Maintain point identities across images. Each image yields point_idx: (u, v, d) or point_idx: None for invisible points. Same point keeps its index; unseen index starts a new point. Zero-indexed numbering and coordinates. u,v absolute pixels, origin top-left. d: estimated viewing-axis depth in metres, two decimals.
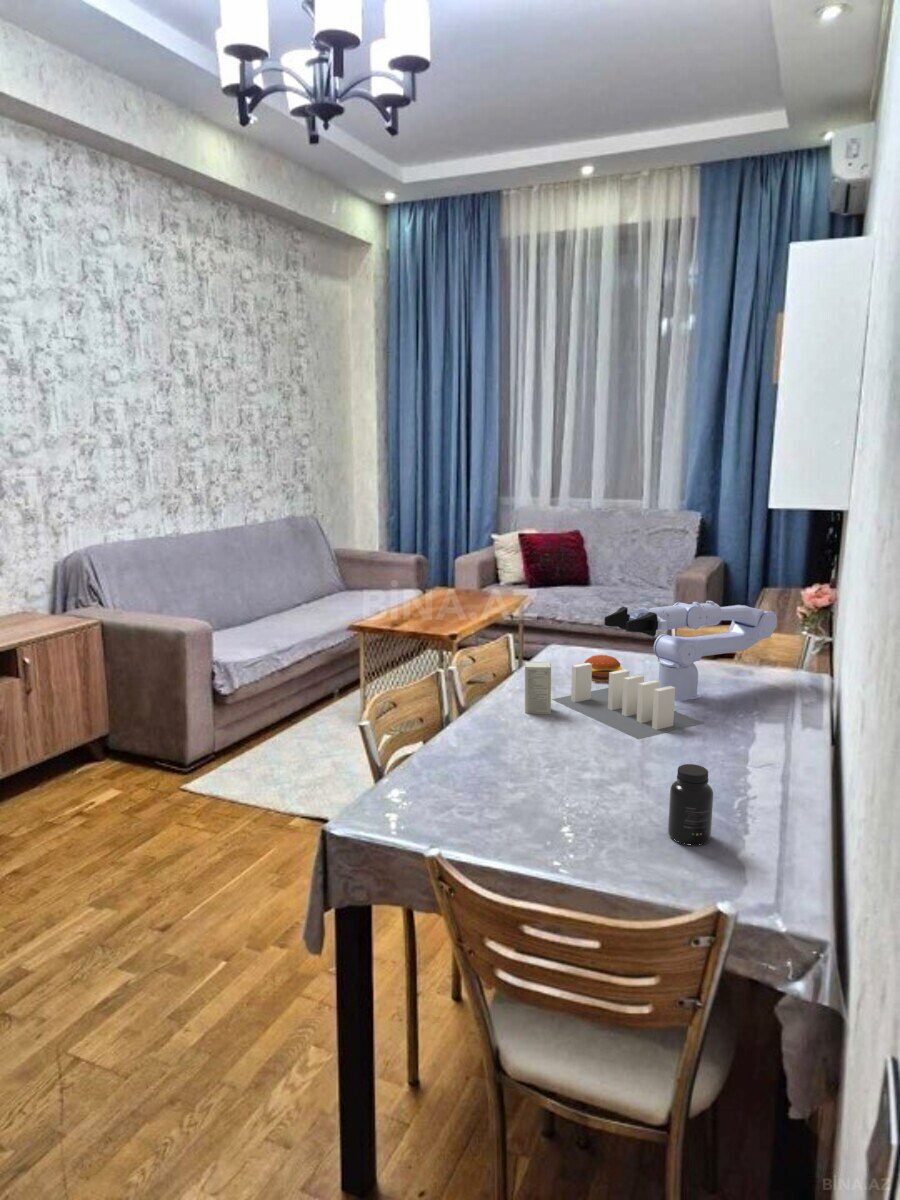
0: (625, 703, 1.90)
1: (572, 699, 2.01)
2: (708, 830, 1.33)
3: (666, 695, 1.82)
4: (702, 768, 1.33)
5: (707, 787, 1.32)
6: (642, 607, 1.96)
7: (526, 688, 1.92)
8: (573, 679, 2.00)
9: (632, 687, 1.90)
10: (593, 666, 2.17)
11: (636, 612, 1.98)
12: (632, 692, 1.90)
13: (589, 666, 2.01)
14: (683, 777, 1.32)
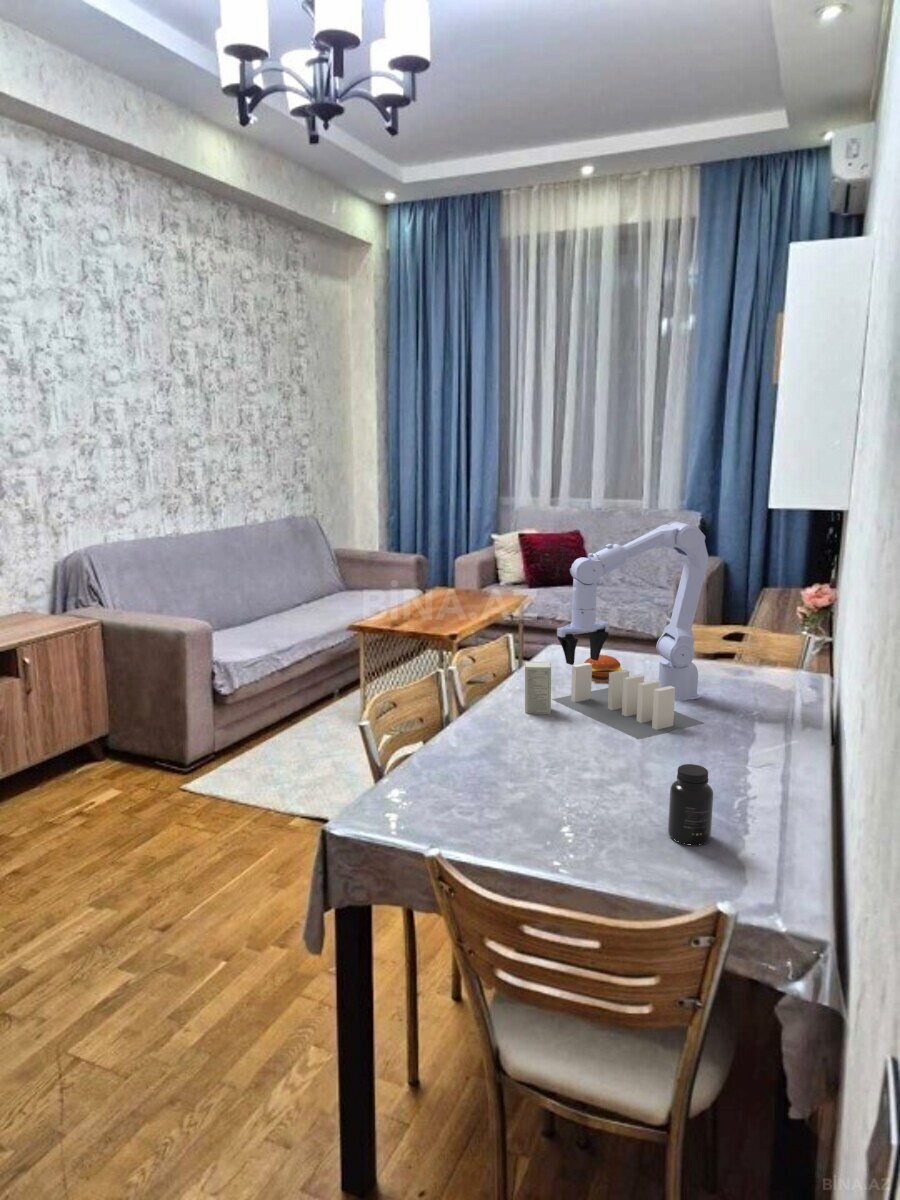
0: (625, 703, 1.90)
1: (572, 699, 2.01)
2: (708, 830, 1.33)
3: (666, 695, 1.82)
4: (702, 768, 1.33)
5: (707, 787, 1.32)
6: None
7: (526, 688, 1.92)
8: (573, 679, 2.00)
9: (632, 687, 1.90)
10: (593, 666, 2.17)
11: None
12: (632, 692, 1.90)
13: (589, 666, 2.01)
14: (683, 777, 1.32)
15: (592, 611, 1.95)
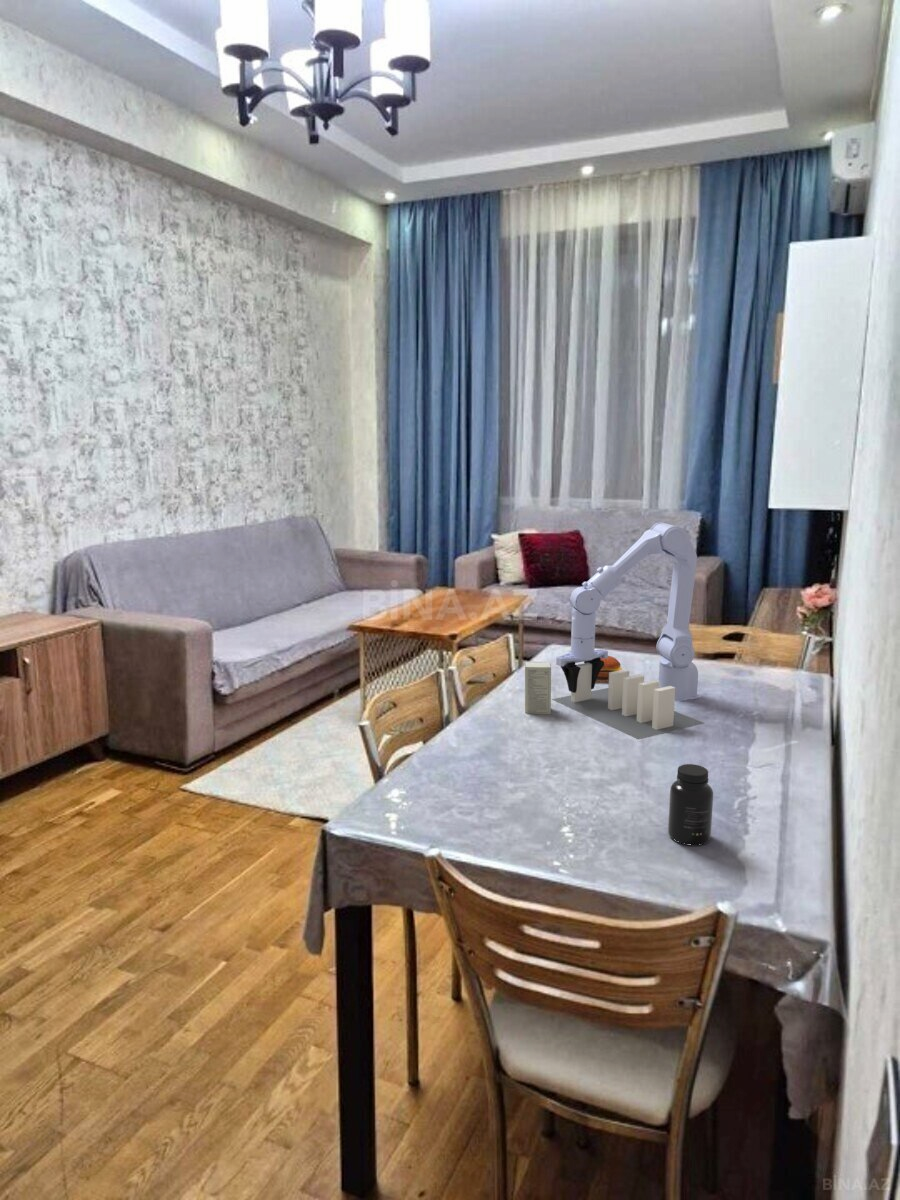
0: (625, 703, 1.90)
1: (572, 699, 2.01)
2: (708, 830, 1.33)
3: (666, 695, 1.82)
4: (702, 768, 1.33)
5: (707, 787, 1.32)
6: None
7: (526, 688, 1.92)
8: None
9: (632, 687, 1.90)
10: None
11: None
12: (632, 692, 1.90)
13: (589, 666, 2.01)
14: (683, 777, 1.32)
15: (591, 640, 1.97)
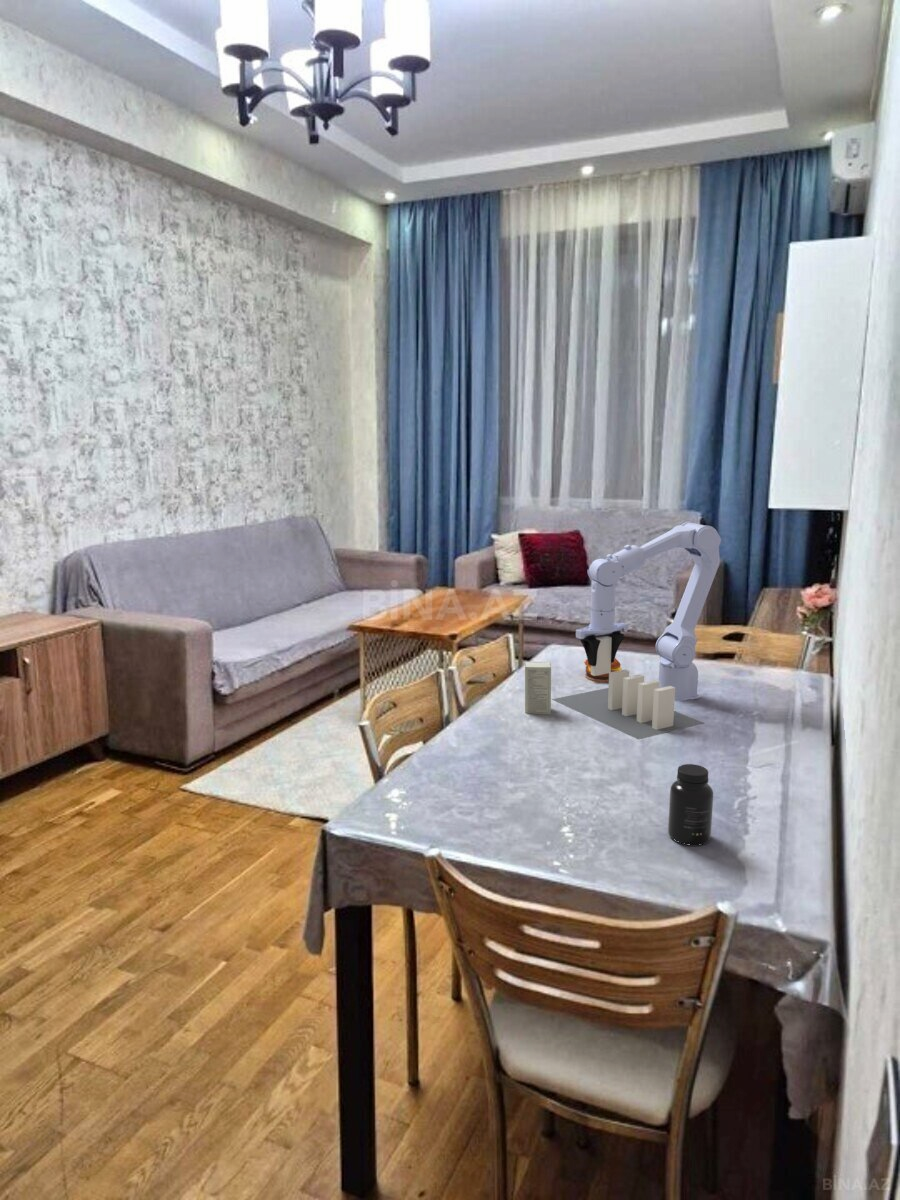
0: (625, 703, 1.90)
1: (592, 673, 1.99)
2: (708, 830, 1.33)
3: (666, 695, 1.82)
4: (702, 768, 1.33)
5: (707, 787, 1.32)
6: None
7: (526, 688, 1.92)
8: None
9: (632, 687, 1.90)
10: None
11: None
12: (632, 692, 1.90)
13: (609, 639, 1.98)
14: (683, 777, 1.32)
15: (611, 613, 1.94)
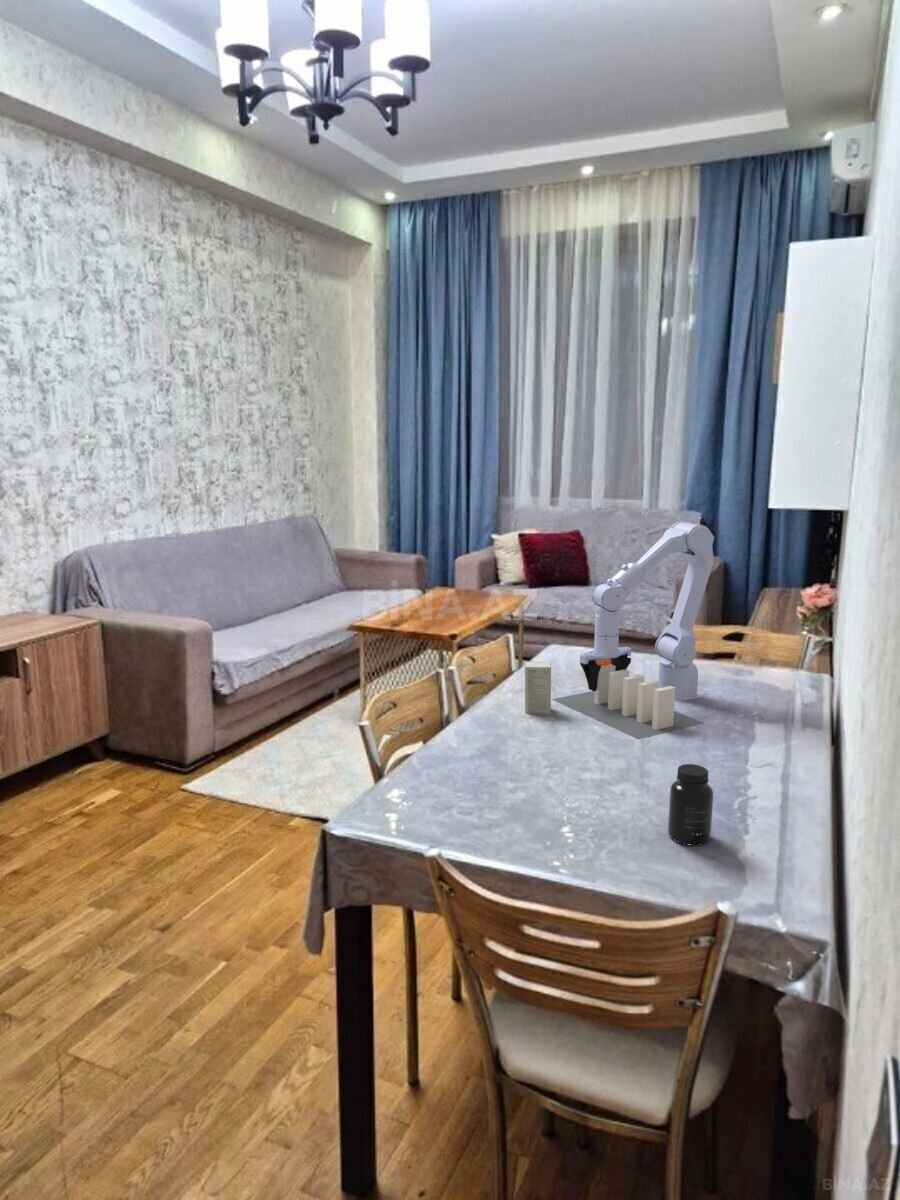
0: (625, 703, 1.90)
1: (595, 701, 2.00)
2: (708, 830, 1.33)
3: (666, 695, 1.82)
4: (702, 768, 1.33)
5: (707, 787, 1.32)
6: None
7: (526, 688, 1.92)
8: None
9: (632, 687, 1.90)
10: None
11: None
12: (632, 692, 1.90)
13: (612, 668, 1.99)
14: (683, 777, 1.32)
15: (615, 638, 1.95)
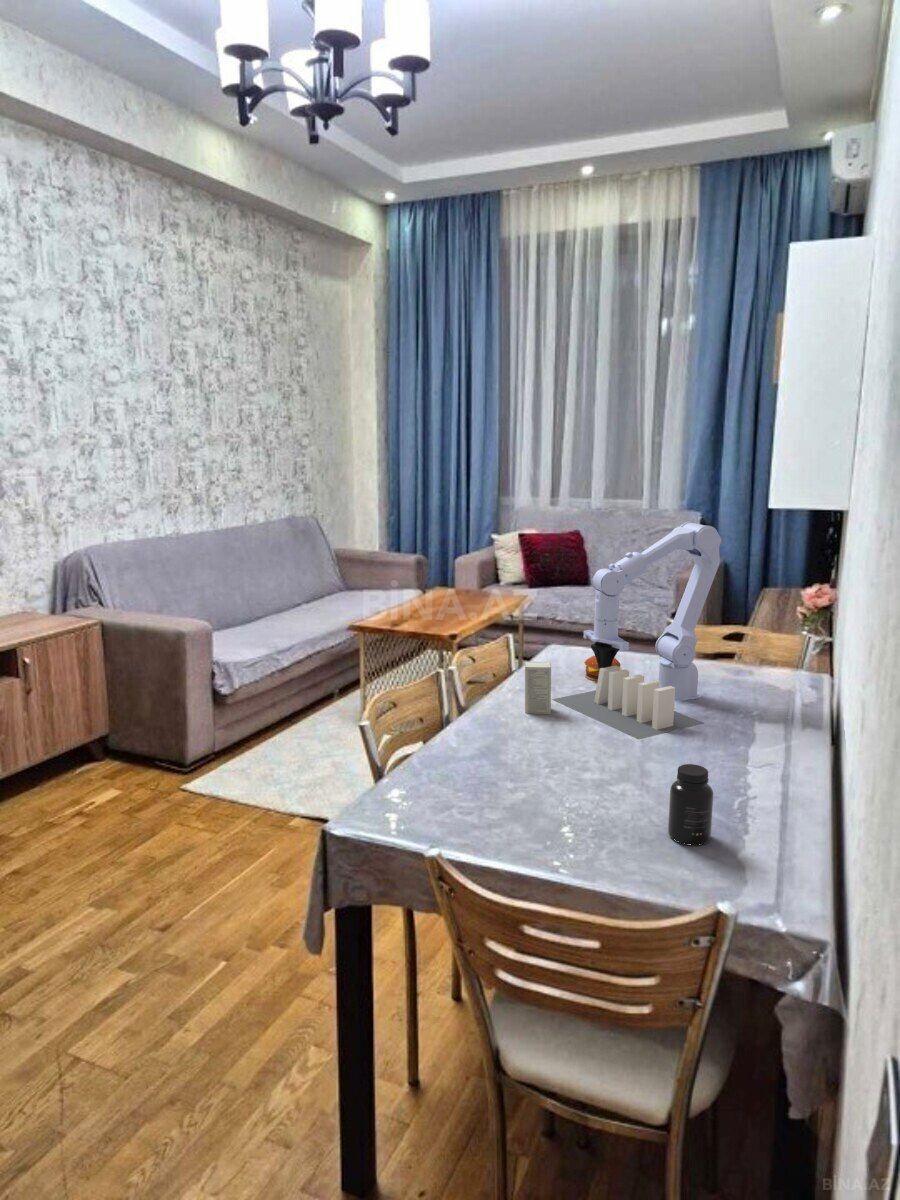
0: (625, 703, 1.90)
1: (595, 700, 2.00)
2: (708, 830, 1.33)
3: (666, 695, 1.82)
4: (702, 768, 1.33)
5: (707, 787, 1.32)
6: None
7: (526, 688, 1.92)
8: (599, 682, 1.98)
9: (632, 687, 1.90)
10: (593, 666, 2.17)
11: None
12: (632, 692, 1.90)
13: (617, 670, 1.98)
14: (683, 777, 1.32)
15: None
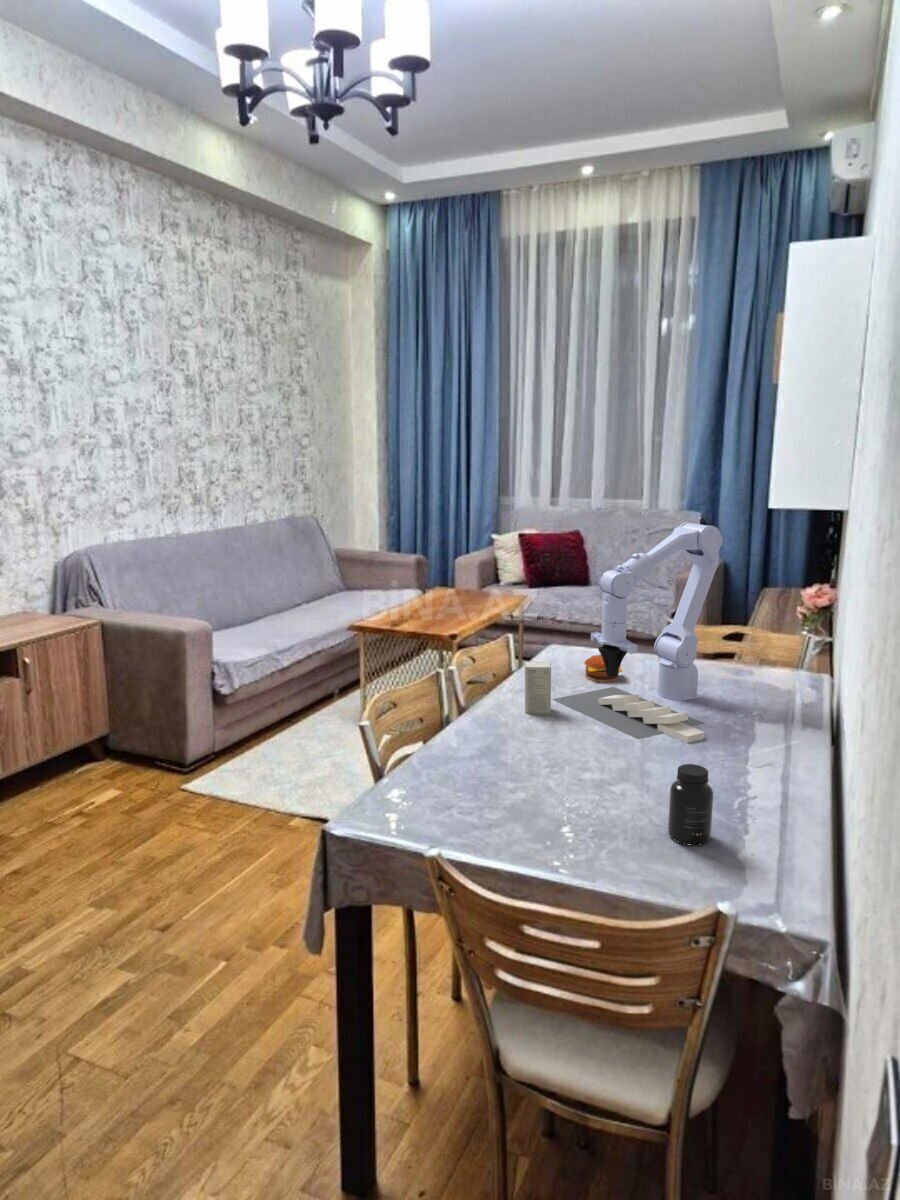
0: (636, 715, 1.87)
1: (599, 700, 1.99)
2: (708, 830, 1.33)
3: None
4: (702, 768, 1.33)
5: (707, 787, 1.32)
6: None
7: (526, 688, 1.92)
8: (613, 700, 1.94)
9: None
10: (593, 666, 2.17)
11: None
12: None
13: (635, 701, 1.93)
14: (683, 777, 1.32)
15: None
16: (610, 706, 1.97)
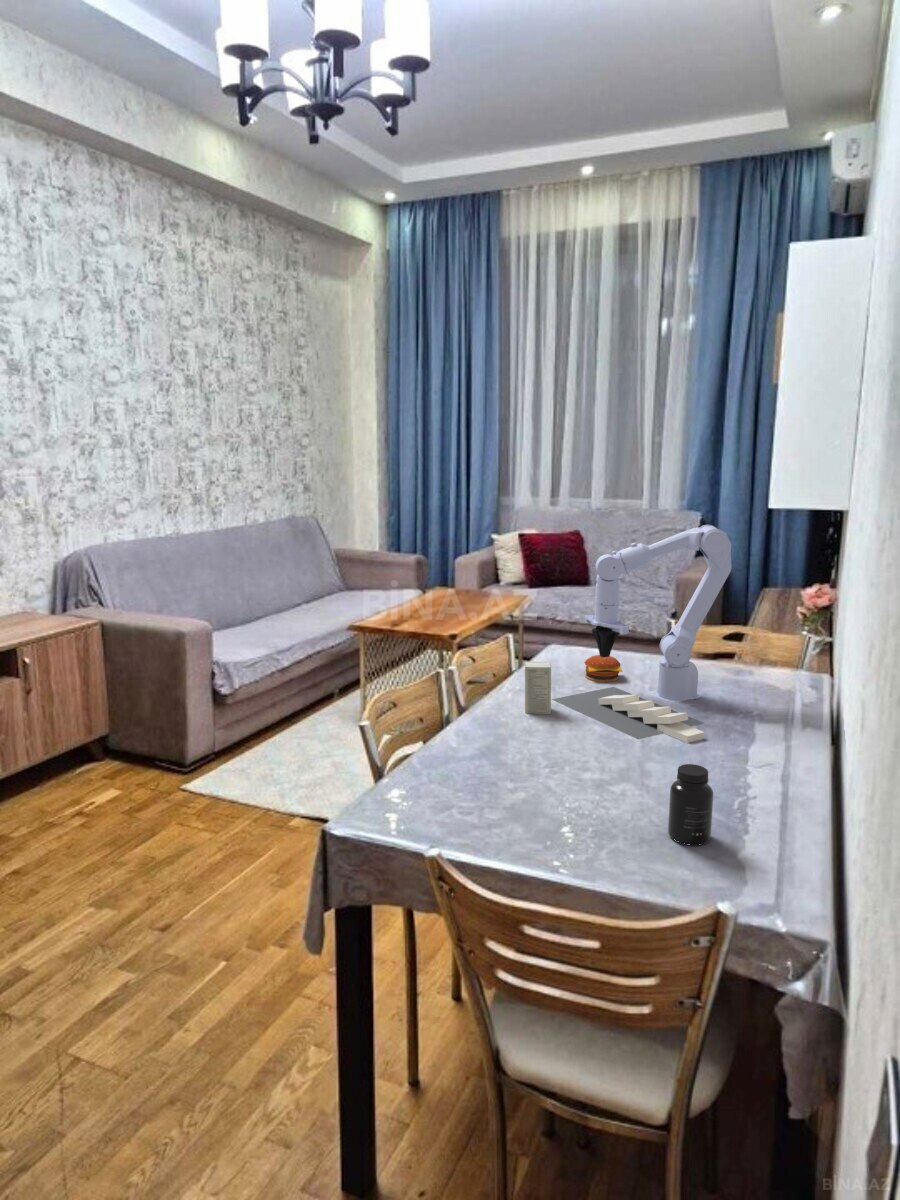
0: (636, 715, 1.87)
1: (599, 700, 1.99)
2: (708, 830, 1.33)
3: None
4: (702, 768, 1.33)
5: (707, 787, 1.32)
6: None
7: (526, 688, 1.92)
8: (613, 700, 1.94)
9: None
10: (593, 666, 2.17)
11: None
12: None
13: (635, 701, 1.93)
14: (683, 777, 1.32)
15: None
16: (610, 706, 1.97)
